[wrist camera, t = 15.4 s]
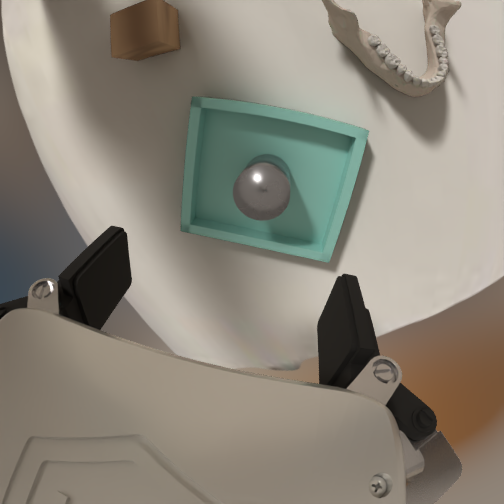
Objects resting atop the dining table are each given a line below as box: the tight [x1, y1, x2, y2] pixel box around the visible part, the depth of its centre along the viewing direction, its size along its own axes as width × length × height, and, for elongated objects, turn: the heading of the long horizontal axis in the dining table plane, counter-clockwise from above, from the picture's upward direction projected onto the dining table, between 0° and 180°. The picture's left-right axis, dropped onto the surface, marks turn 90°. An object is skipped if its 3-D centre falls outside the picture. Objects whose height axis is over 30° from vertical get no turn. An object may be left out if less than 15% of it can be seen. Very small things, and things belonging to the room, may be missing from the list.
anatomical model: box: [322, 0, 461, 97], centre depth 15 cm, size 13×11×10 cm
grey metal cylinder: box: [233, 154, 291, 221], centre depth 24 cm, size 5×5×6 cm
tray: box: [181, 97, 369, 263], centre depth 26 cm, size 16×14×2 cm
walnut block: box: [110, 0, 180, 61], centre depth 18 cm, size 5×5×5 cm
